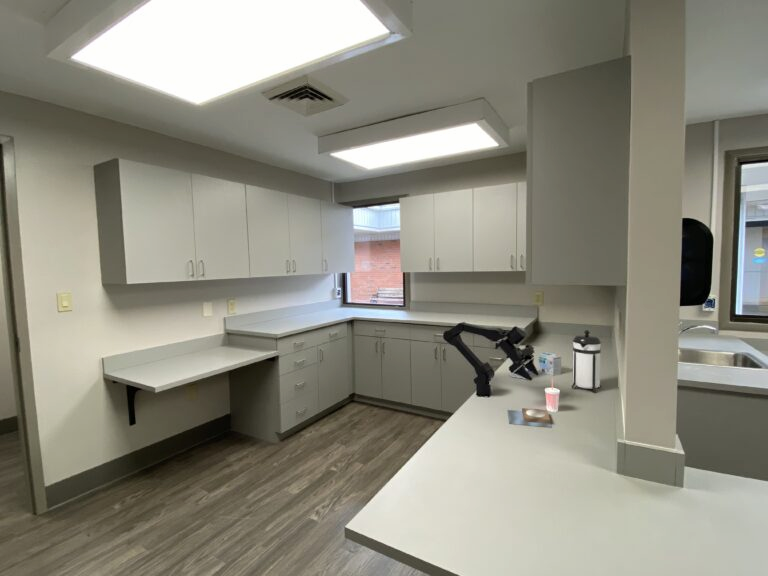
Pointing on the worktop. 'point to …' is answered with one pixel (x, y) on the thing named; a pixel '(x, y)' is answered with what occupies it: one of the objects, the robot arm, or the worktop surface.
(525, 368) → the ink cartridge box
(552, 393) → the beverage cup
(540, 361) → the light bulb box
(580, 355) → the coffee press
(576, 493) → the worktop surface
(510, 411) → the blueprint plinth
